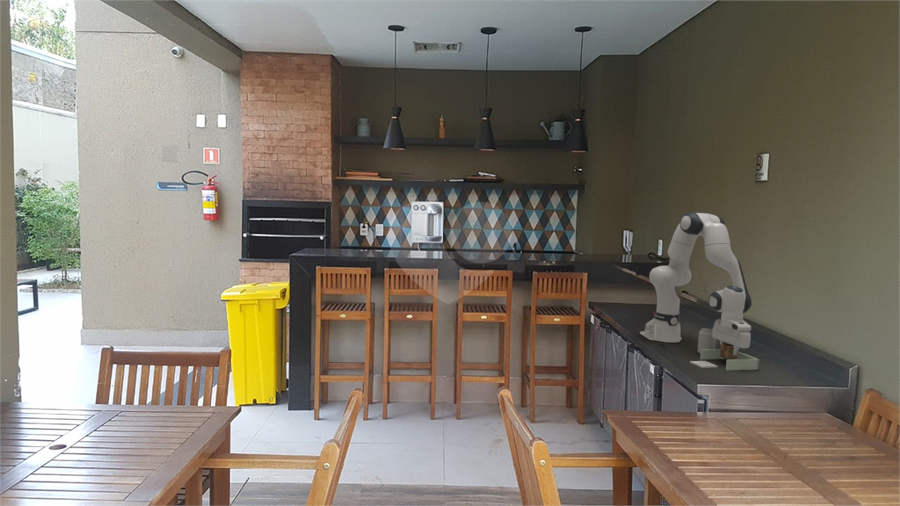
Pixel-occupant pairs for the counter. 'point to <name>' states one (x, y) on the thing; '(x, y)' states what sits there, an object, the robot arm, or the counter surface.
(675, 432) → the counter surface
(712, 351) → the pale green frame
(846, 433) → the counter surface
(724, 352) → the block
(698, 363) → the coaster
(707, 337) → the can
